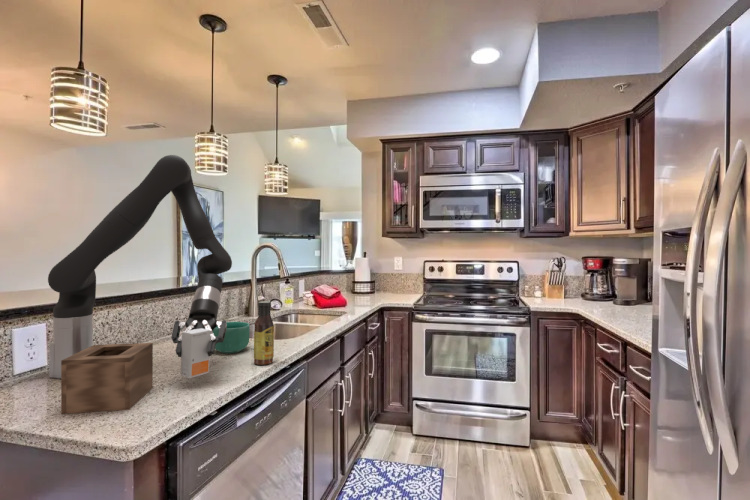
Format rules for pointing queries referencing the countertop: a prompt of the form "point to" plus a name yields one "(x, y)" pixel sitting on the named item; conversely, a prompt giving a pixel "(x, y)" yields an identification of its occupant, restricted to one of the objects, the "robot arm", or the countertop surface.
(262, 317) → the sauce bottle
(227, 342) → the mug
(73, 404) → the slot box
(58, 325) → the robot arm
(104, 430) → the countertop surface
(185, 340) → the skincare box
